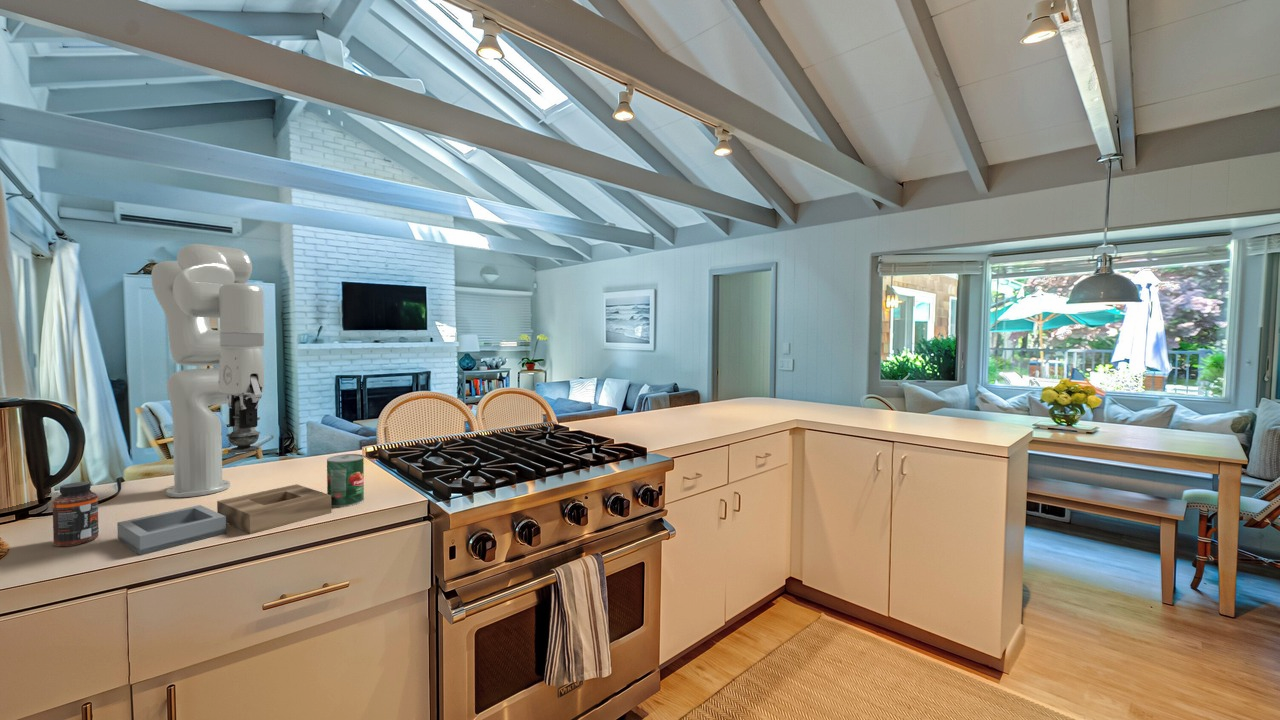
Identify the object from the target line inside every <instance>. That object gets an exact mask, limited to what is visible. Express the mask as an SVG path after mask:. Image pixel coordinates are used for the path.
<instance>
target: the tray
mask: <svg viewBox="0 0 1280 720" xmlns="http://www.w3.org/2000/svg"><path fill="white" fill-rule="evenodd" d="M116 523H117V524H116V526H117V541H118V540H119V542H120V543H121V542H122V543H121V544H123V545H124V544H125V545H124V546H125V547H128V548H129V549H130V550H132V551H133V552H135V553H136V554H137V555H139V556H142V555H147V554H151V553H154V552H158V551H163V550H166V549H170V548H174V547H177V546H183V545H187V544H190V543H193V542H197V541H201V540H206V539H209V538H213V537H216V536H221V535H225V534H227V523H226V516H224V515H222V514H219V513H217V511H215V510H213V509H210V508H207V507H206V506H203V505H201V504H199V505H194V506H190V507H189V506H188V507H184V508H179V509H176V510H171V511H170V510H169V511H166V512H161V513H156V514H152V515H147V516H141V517H136V518H133V519H132V518H131V519H127V520H123V521H118V522H116Z"/></svg>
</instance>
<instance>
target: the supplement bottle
mask: <svg viewBox="0 0 1280 720" xmlns="http://www.w3.org/2000/svg"><path fill="white" fill-rule="evenodd" d="M91 489H92V488H91V482H89V481H77V482H76V481H75V482H69V483H65V484H61V485H60V486H59V493H60V495H59V496H57V497H55V498H54V499H53V501H52V529H53V530H52V532H53V533H52V534H53V536H52V537H53V544H54V545H55V546H56V547H69V546H78V545H82V544H87V543H89V542H92V541H93V540H95V539H97V538H98V537H99V501H98V499H99V497H98V496H99V495H98V494H97V493H96V492H93V491H92V490H91Z"/></svg>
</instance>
